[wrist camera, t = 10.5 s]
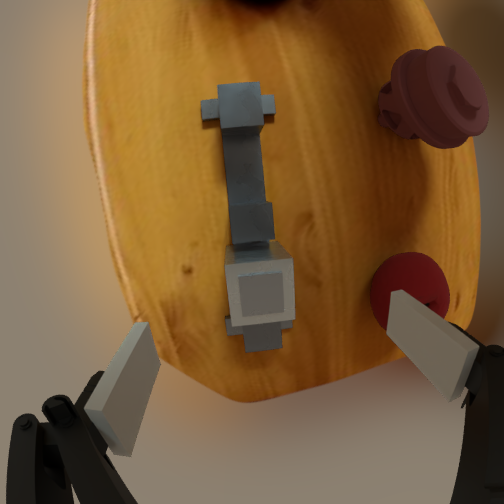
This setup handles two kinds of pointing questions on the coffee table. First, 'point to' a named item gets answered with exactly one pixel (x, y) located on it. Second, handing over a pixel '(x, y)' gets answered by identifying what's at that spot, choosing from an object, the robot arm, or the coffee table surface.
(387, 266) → the apple
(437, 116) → the mechanical component
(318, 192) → the coffee table surface
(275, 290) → the block
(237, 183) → the rail
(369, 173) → the coffee table surface
